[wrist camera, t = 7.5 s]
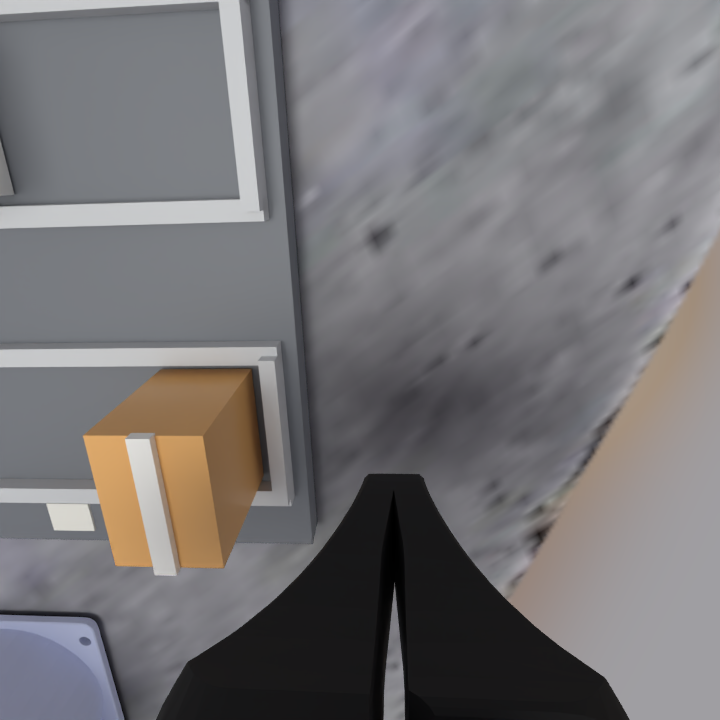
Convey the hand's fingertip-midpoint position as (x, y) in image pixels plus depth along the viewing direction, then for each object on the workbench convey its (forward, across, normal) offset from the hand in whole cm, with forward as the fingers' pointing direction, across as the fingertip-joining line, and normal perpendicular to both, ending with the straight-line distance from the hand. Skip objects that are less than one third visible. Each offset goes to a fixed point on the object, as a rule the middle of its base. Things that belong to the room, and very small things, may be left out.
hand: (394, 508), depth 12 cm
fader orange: (+5, +6, 0) cm, 8 cm away
